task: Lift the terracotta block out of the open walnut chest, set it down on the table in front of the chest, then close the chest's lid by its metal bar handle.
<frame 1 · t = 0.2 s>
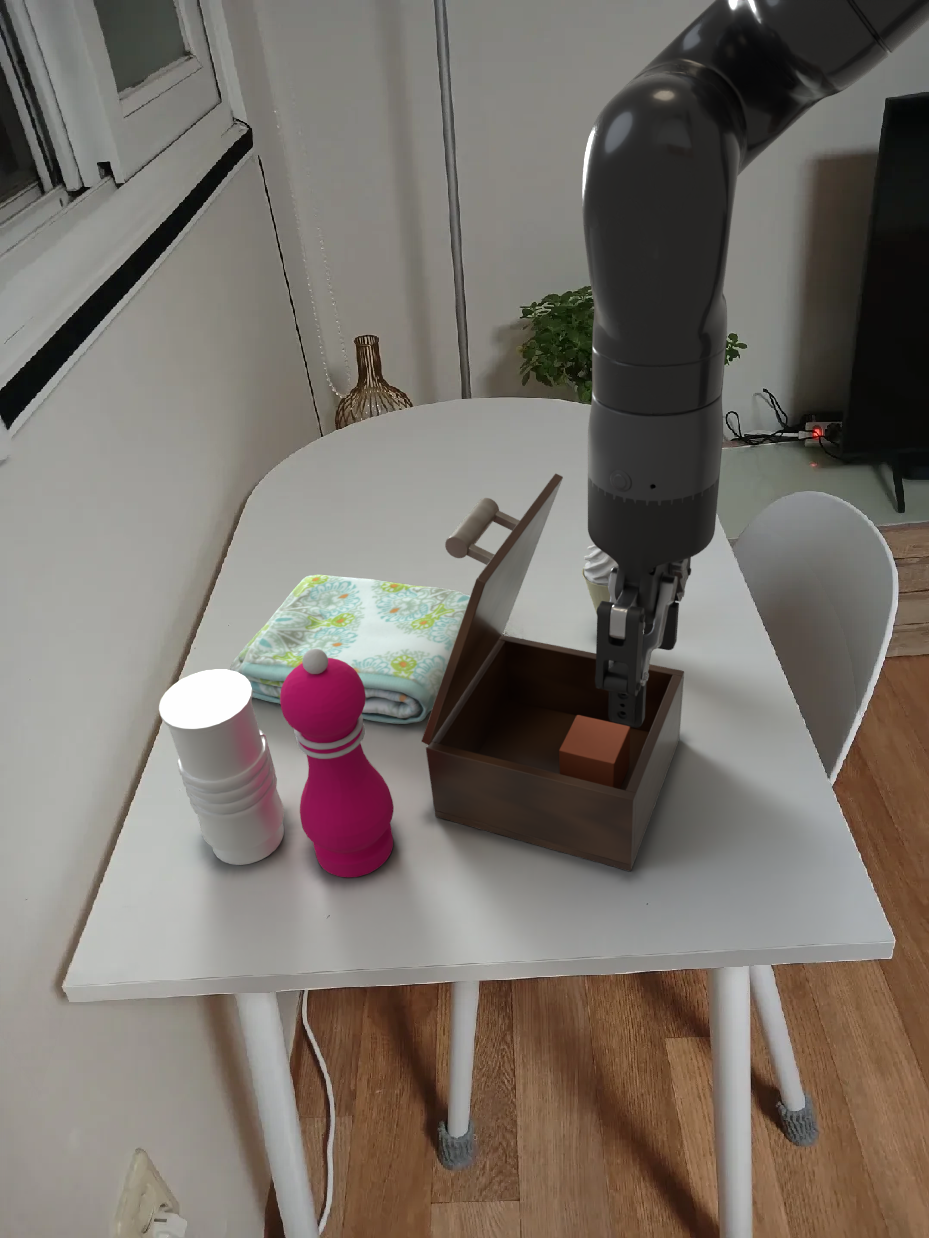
hand: (643, 681, 64), 17 cm above the table, tool pointing down, fingers open, 8 cm apart
chest: (561, 776, 81), on the table
ice cream cone: (607, 640, 97), on the table
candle: (249, 837, 79), on the table
block: (594, 778, 80), point 1 cm above the table, touching chest
pepper mill: (355, 849, 77), on the table
towel: (366, 662, 97), on the table
lid: (469, 598, 74), point 17 cm above the table, hinge at 70.0°
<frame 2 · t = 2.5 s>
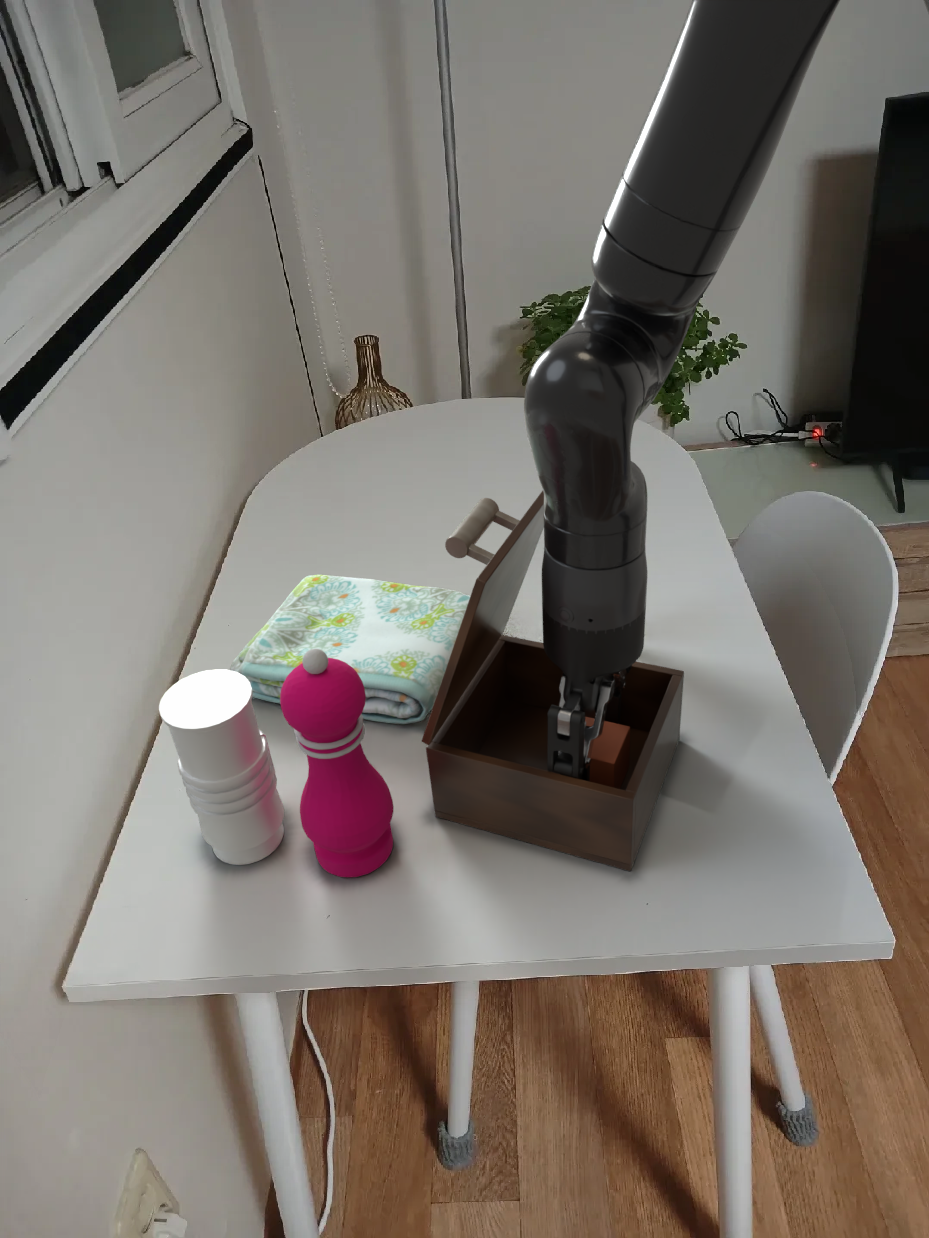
hand: (591, 757, 79), 3 cm above the table, tool pointing down, fingers open, 8 cm apart
nothing on the table moved.
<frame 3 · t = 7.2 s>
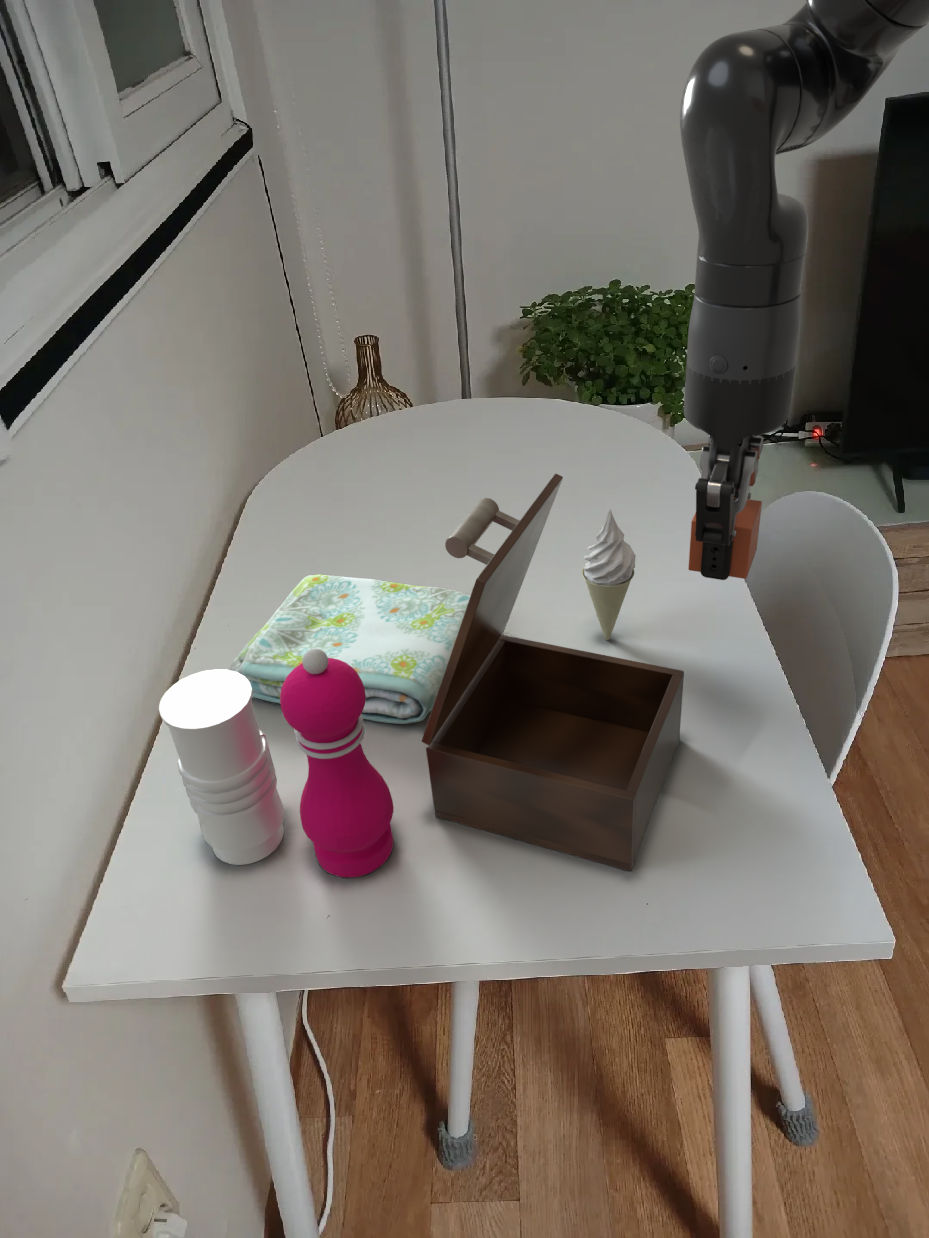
hand: (721, 558, 77), 16 cm above the table, tool pointing down, fingers closed on block, 4 cm apart
block: (722, 560, 77), point 16 cm above the table, touching gripper
everything else where it was.
when the fingers open (0 cm above the table, at t = 11.1 s): block stays where it is, on the table.
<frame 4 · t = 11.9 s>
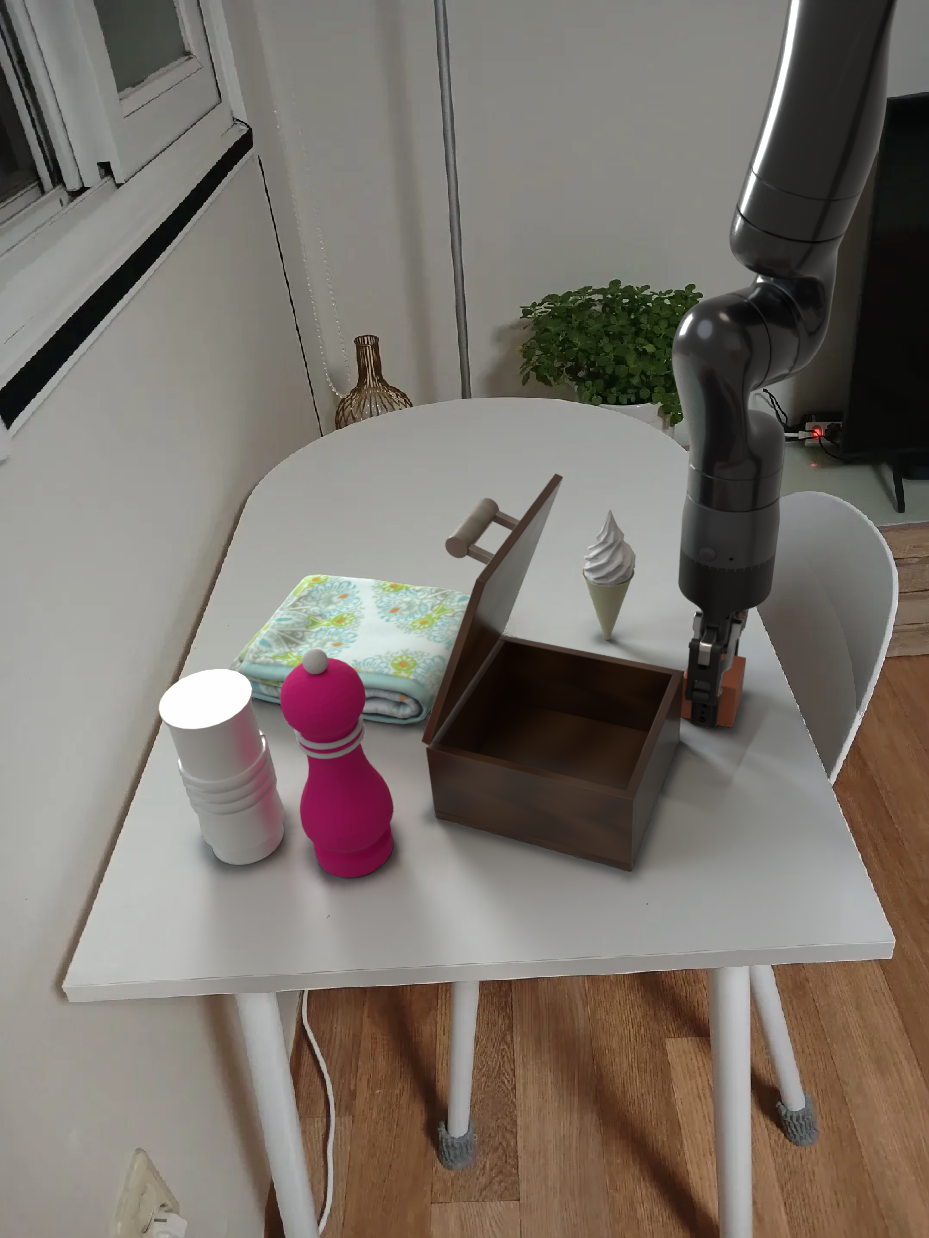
hand: (714, 694, 86), 2 cm above the table, tool pointing down, fingers open, 8 cm apart
block: (711, 706, 87), on the table
everything else where it was.
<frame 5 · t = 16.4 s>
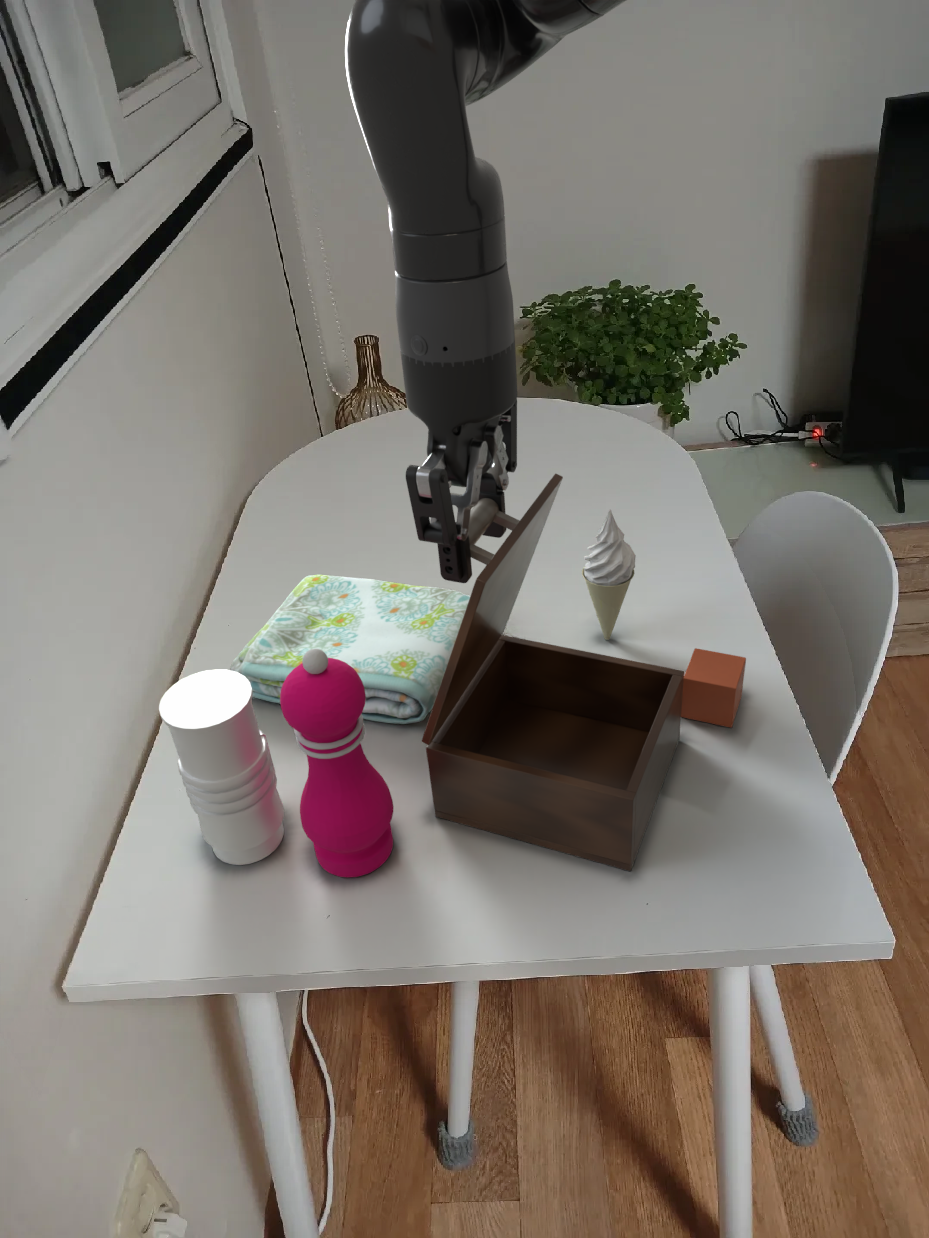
hand: (475, 555, 72), 21 cm above the table, tool pointing down, fingers closed on lid, 6 cm apart
lid: (469, 598, 74), point 17 cm above the table, hinge at 70.0°, touching gripper
everything else where it was.
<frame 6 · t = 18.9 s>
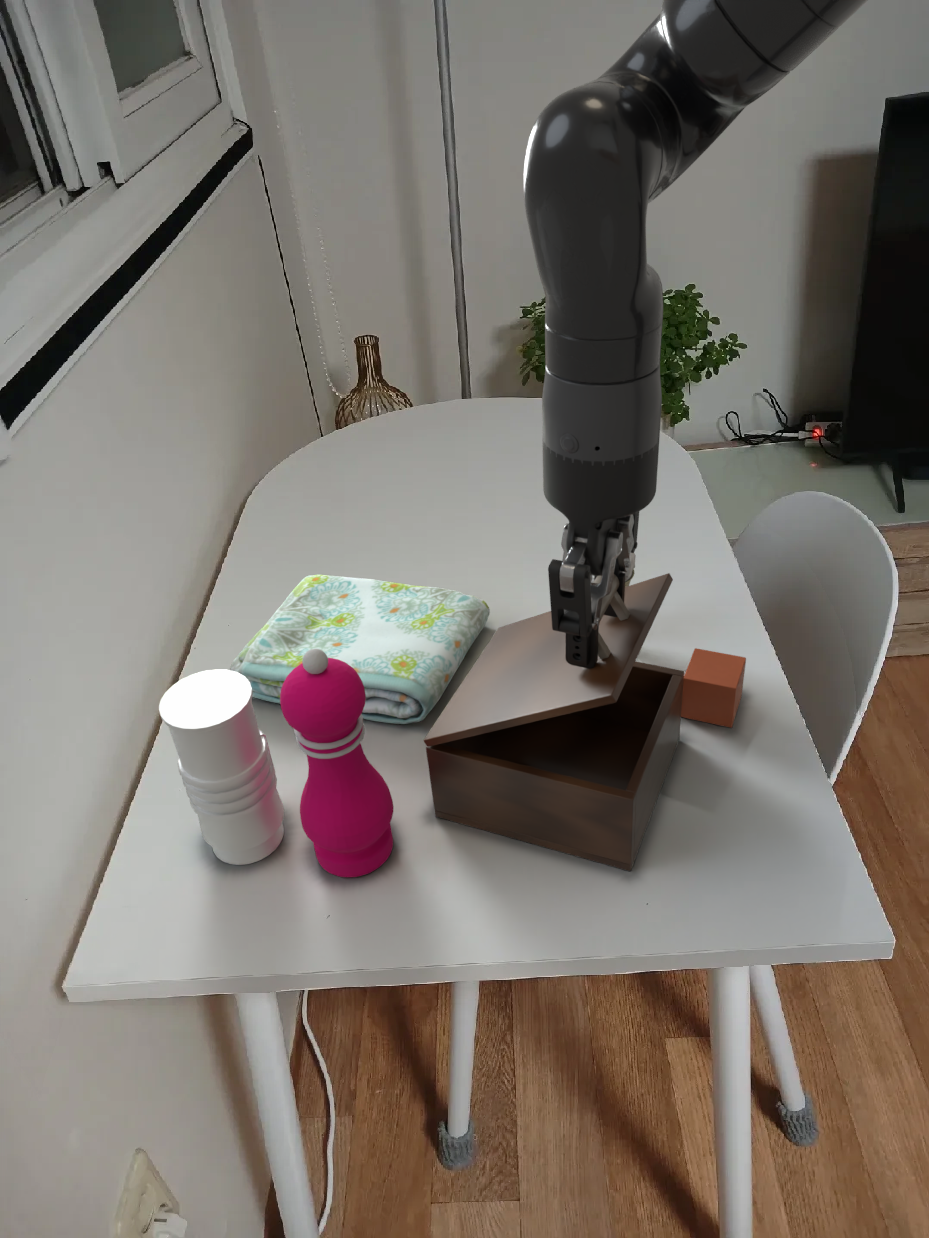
hand: (595, 636, 71), 16 cm above the table, tool pointing down, fingers closed on lid, 6 cm apart
lid: (535, 639, 74), point 14 cm above the table, hinge at 30.0°, touching gripper
everything else where it was.
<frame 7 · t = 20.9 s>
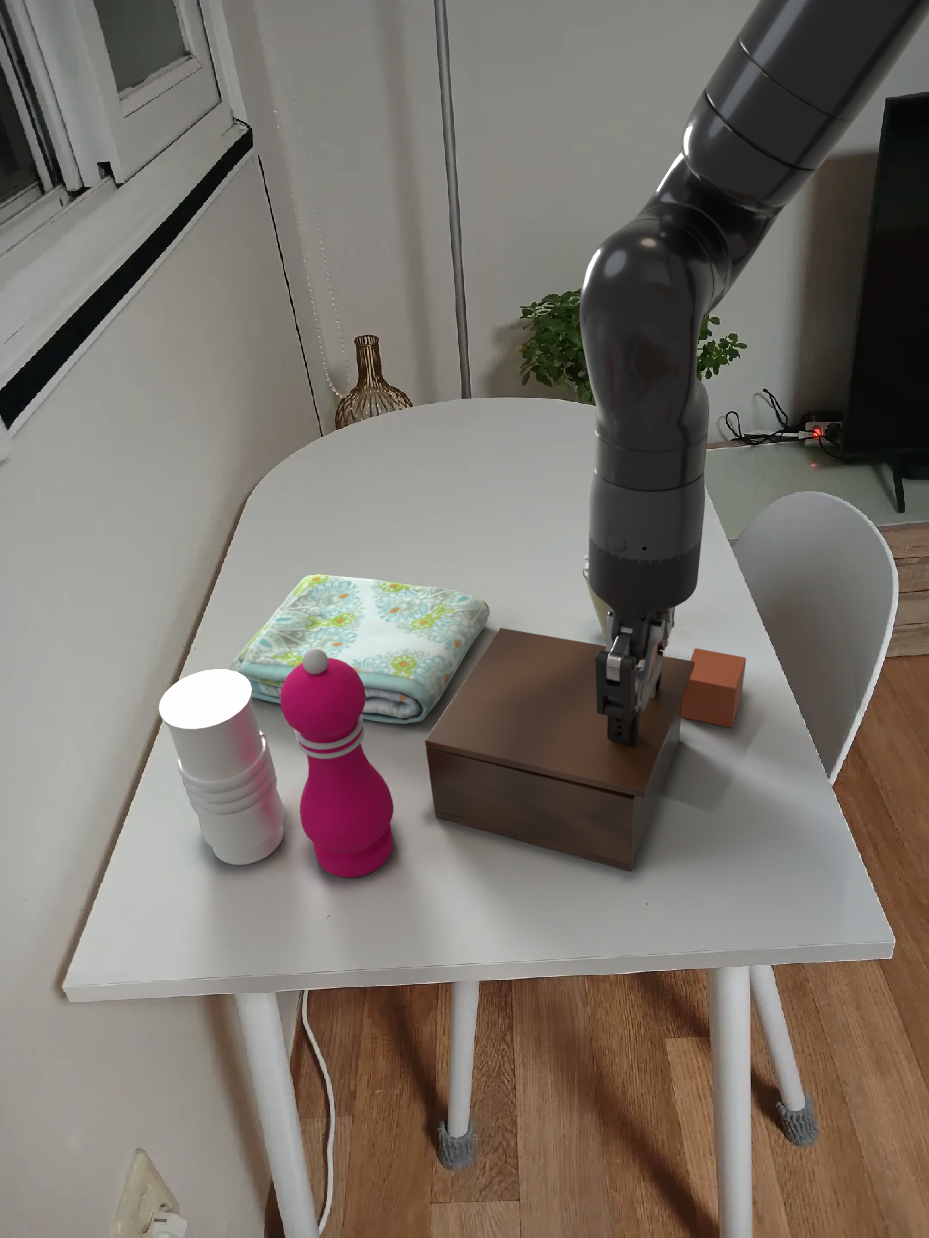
hand: (634, 712, 74), 9 cm above the table, tool pointing down, fingers closed on lid, 6 cm apart
lid: (562, 683, 75), point 10 cm above the table, hinge at 1.5°, touching gripper
everything else where it was.
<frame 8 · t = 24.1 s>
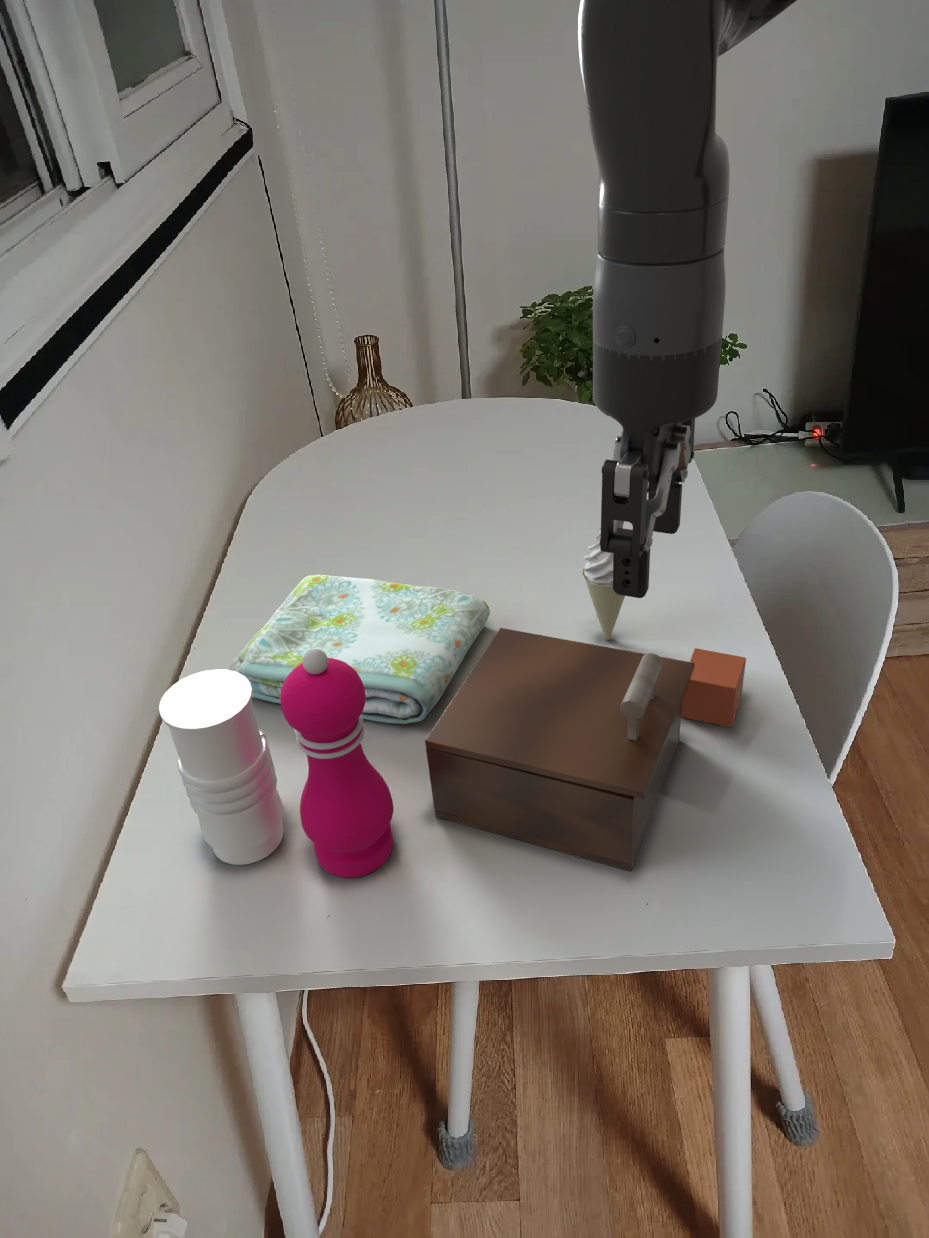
hand: (647, 560, 66), 23 cm above the table, tool pointing down, fingers open, 8 cm apart
lid: (563, 684, 75), point 10 cm above the table, hinge at 1.0°
everything else where it was.
at the end: block inside the target area (0.0 cm from its centre), on the table; block tilted 0°; lid at +1° (first picture: +70°) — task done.
